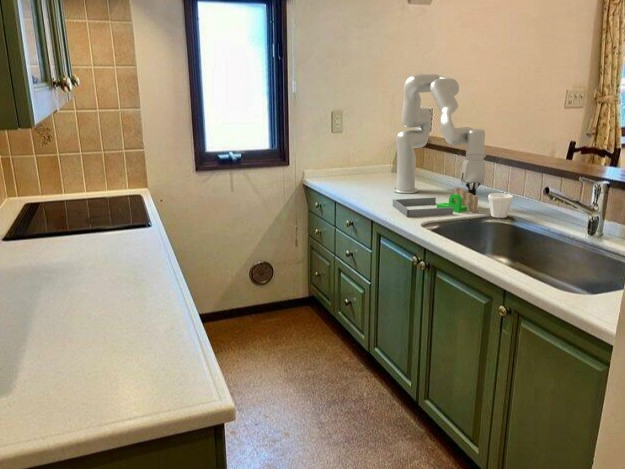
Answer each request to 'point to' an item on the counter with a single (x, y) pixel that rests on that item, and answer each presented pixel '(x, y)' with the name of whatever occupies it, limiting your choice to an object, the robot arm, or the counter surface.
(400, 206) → the grey tray
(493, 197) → the cup
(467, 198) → the gate
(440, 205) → the mechanical part
